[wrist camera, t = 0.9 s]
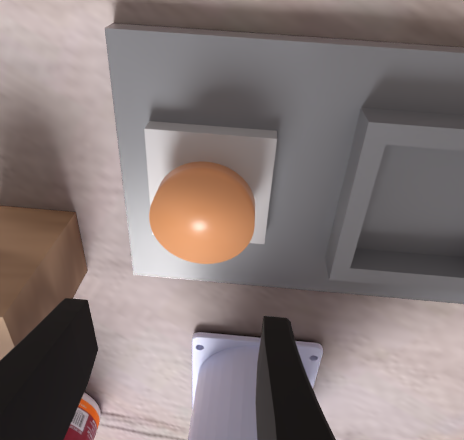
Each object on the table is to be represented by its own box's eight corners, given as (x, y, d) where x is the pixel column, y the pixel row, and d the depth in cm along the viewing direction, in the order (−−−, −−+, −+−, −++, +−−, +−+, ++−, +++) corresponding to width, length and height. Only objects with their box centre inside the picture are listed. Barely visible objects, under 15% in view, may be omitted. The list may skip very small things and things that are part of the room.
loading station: (471, 291, 22) (492, 328, 20) (138, 262, 23) (125, 295, 20) (596, 56, 15) (648, 75, 13) (113, 23, 16) (89, 36, 14)
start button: (251, 249, 18) (250, 268, 17) (158, 241, 18) (152, 259, 17) (259, 165, 15) (259, 181, 14) (153, 157, 15) (145, 172, 14)
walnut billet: (87, 270, 23) (28, 381, 18) (18, 264, 23) (-64, 371, 18) (75, 211, 21) (2, 316, 15) (-2, 205, 21) (-103, 307, 15)
